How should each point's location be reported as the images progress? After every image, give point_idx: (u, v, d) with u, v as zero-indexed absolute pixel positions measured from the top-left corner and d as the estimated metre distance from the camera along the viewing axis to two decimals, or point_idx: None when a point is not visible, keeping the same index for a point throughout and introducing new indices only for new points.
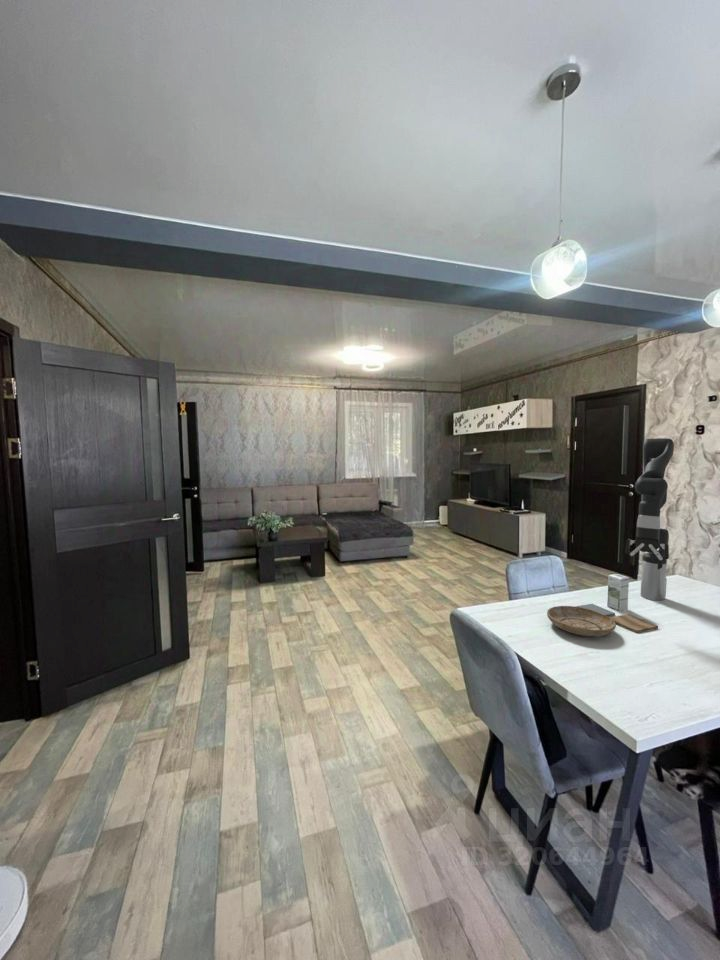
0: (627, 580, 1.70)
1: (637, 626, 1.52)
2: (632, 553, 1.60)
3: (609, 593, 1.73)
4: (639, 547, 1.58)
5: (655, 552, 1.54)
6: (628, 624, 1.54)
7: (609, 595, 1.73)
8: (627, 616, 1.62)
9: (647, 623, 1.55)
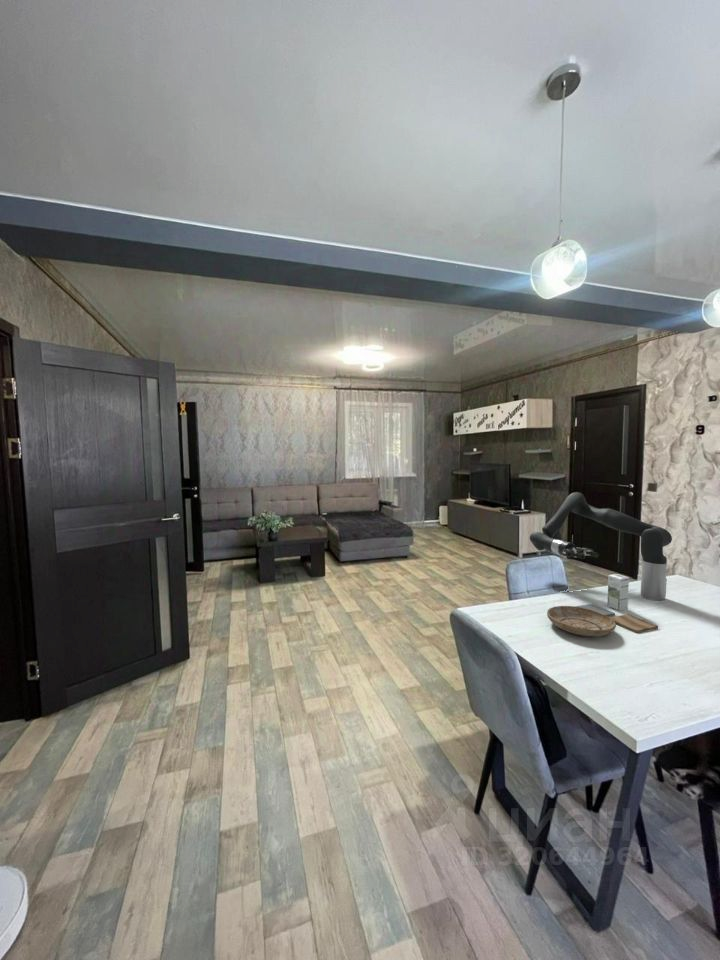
0: (627, 580, 1.70)
1: (637, 626, 1.52)
2: (575, 551, 1.88)
3: (609, 593, 1.73)
4: (573, 549, 1.91)
5: (584, 548, 1.92)
6: (628, 624, 1.54)
7: (609, 595, 1.73)
8: (627, 616, 1.62)
9: (647, 623, 1.55)
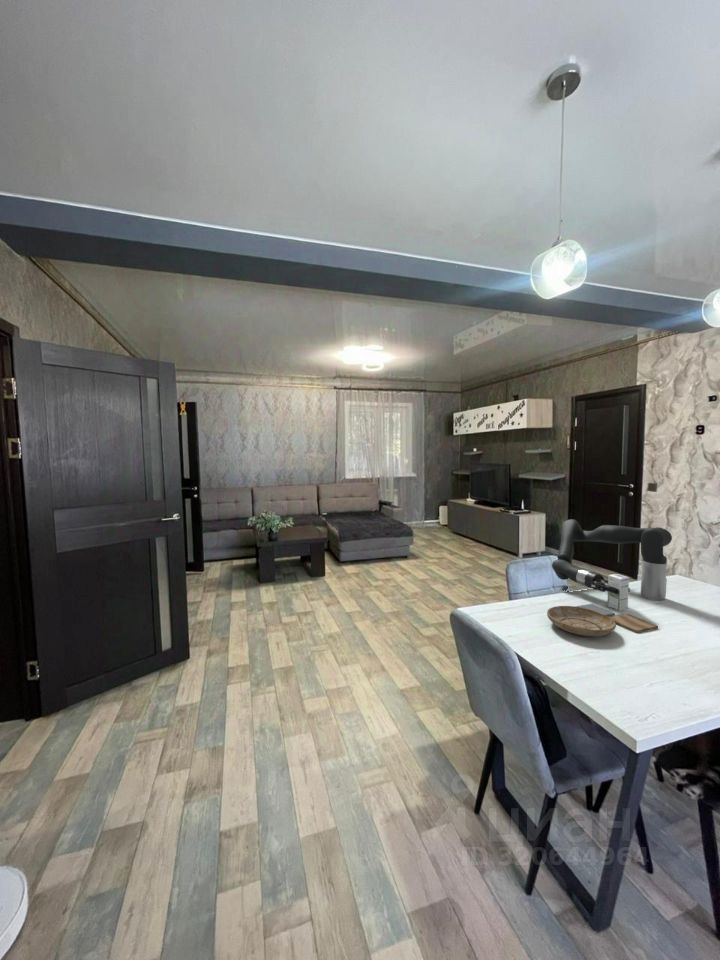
0: (627, 580, 1.70)
1: (637, 626, 1.52)
2: (607, 585, 1.73)
3: (609, 593, 1.73)
4: (603, 581, 1.77)
5: None
6: (628, 624, 1.54)
7: (609, 595, 1.73)
8: (627, 616, 1.62)
9: (647, 623, 1.55)
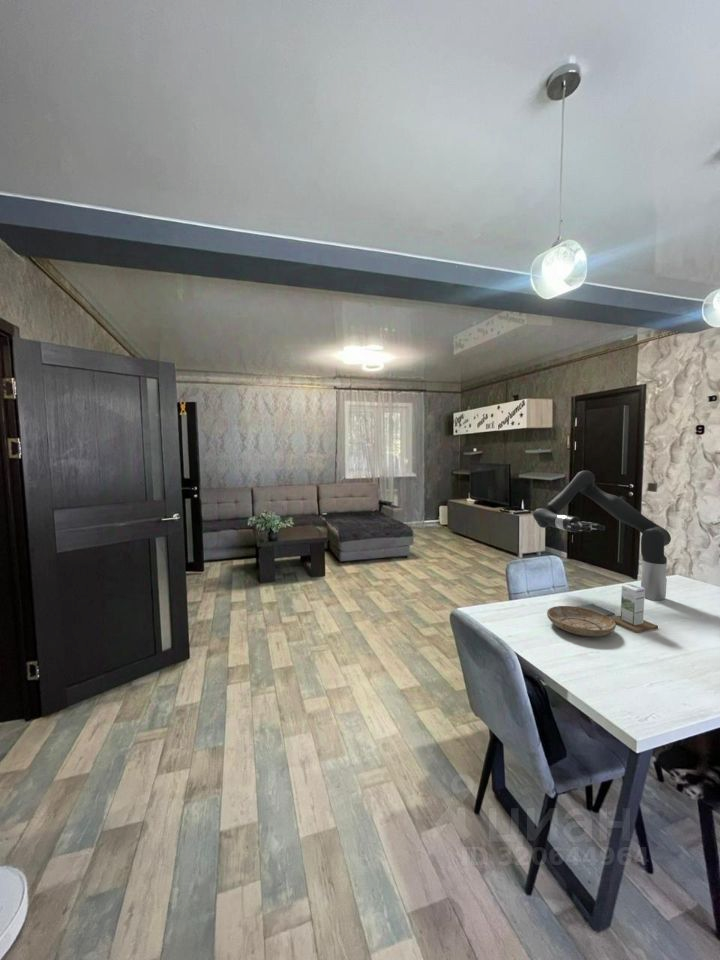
0: (643, 591, 1.54)
1: (637, 626, 1.52)
2: (580, 525, 1.80)
3: (623, 605, 1.57)
4: (579, 522, 1.83)
5: (589, 522, 1.84)
6: (628, 624, 1.54)
7: (623, 607, 1.57)
8: None
9: (647, 623, 1.55)
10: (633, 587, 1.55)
